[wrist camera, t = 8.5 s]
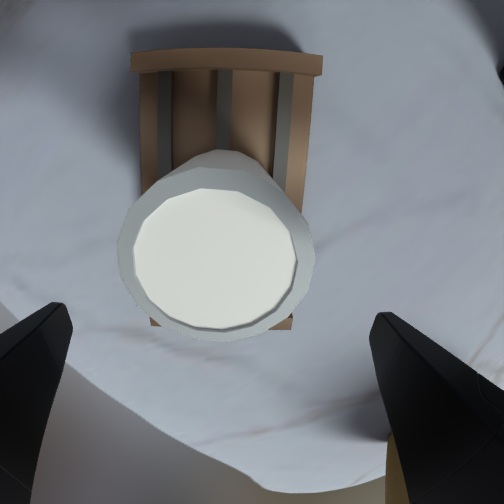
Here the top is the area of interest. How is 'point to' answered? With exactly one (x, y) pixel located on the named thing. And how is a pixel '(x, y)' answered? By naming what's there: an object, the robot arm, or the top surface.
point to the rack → (227, 112)
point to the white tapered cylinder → (216, 249)
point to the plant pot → (394, 476)
